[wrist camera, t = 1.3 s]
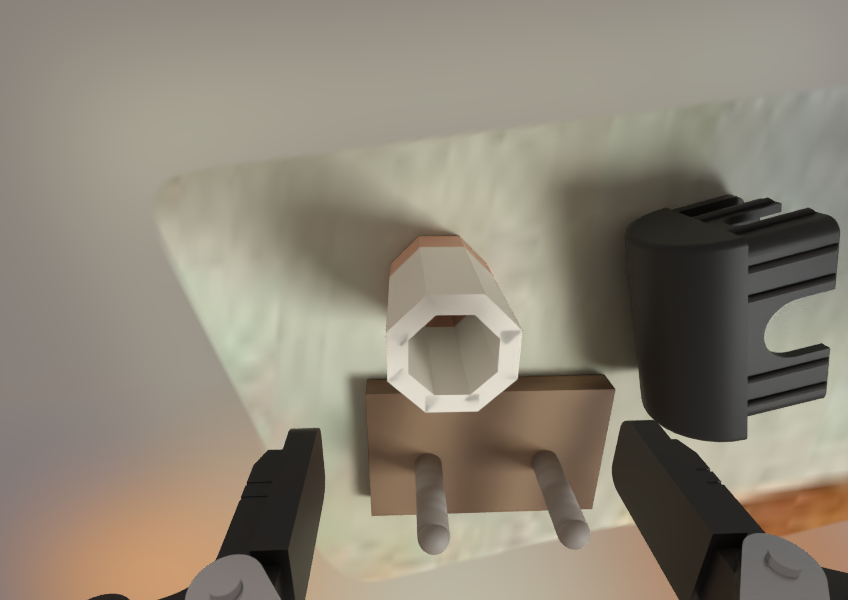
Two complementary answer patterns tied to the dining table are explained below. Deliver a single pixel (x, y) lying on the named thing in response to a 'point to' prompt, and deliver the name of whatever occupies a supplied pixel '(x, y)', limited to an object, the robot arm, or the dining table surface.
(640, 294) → the end cap
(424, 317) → the sleeve
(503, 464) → the pin board
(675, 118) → the dining table surface
